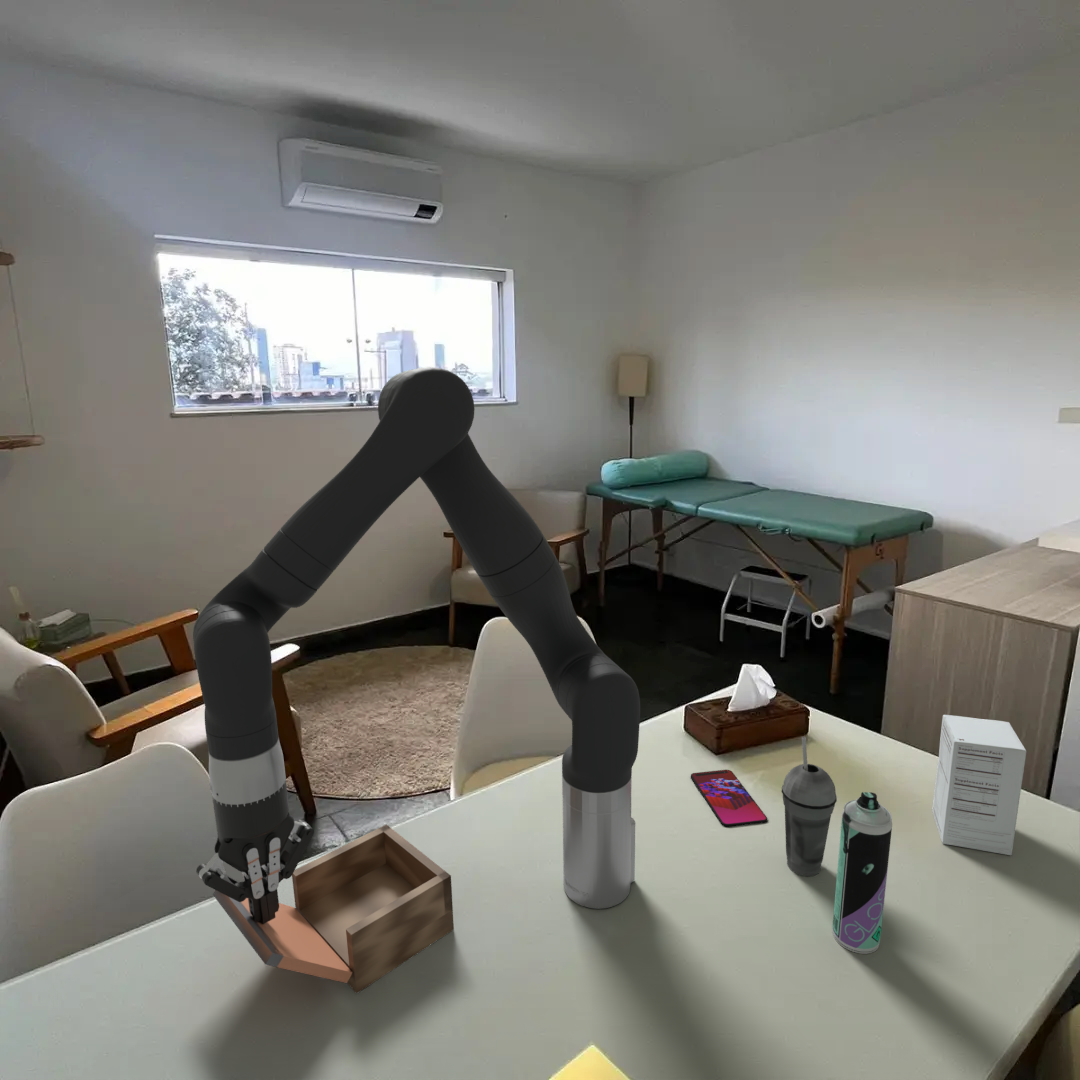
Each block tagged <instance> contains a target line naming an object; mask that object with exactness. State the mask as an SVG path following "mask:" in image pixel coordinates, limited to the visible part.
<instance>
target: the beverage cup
mask: <svg viewBox="0 0 1080 1080" xmlns="http://www.w3.org/2000/svg"><path fill="white" fill-rule="evenodd" d="M801 747H802V762H803V764H798V765H796V766H795V767H793V768H791V769H790V770H789V772H787V774H786V776H785V777H784V780H783V784H782V787H781V790H780V791H781V794H782V800H783V801H782V802H783V805H784V824H785V831H784V832H785V854H786V860H787V861H786V865H787V867H788V868H789V870H790V871H792V872H793V873H794V874H797V875H799V876H804V877H813V876H817V875H818V874H819V873H820V871H821V867H822V863H823V860H824V854H825V849H826V844H827V838H828V833H829V829H830V827H829V826H830V822H831V817H832V814H833V813H834V809H835V806H836V803H837V802H838V801H837V798H838V796H837V793H836V786H835V783H834V781H833V779H832V777H831V776H830V775H829V773H828V771H826V770H824V769H823V767H820V766H818V765H815V764H813V763H812V764H811V763H808V752H807V750H808V749H807V739H806V736H801Z"/></svg>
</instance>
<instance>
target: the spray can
mask: <svg viewBox="0 0 1080 1080" xmlns="http://www.w3.org/2000/svg"><path fill="white" fill-rule="evenodd" d="M877 799H878V795H877V794H876V793H875V792H869V791H868V792H867V791H862V792H861V794H860V797H858V798H856V799H853V800H848V802H845V804H844V806H843V810H842V813H841V814H842V815H841V823H840V824H841V826H840V837H839V848H838V860H837V869H836V871H837V872H836V883H835V893H834V894H835V896H834V905H833V918H832V932H831V933H832V936H833V938H834V940H835V941H836V942H837V943H838V945H840V946H841V947H843V948H844V949H846V950H848V951H850V952H853V953H856V954H864V955H866V954H867V955H868V954H872V953H874V952H876V951H877V950H878V949H879V947H880V942H881V935H882V926H883V915H884V908H885V907H884V906H885V897H886V887H887V879H888V868H889V859H890V850H891V840H892V839H891V838H892V830H893V821H892V820H893V816H892V814H891V812H890V810H888V809H887V808H886V807H885V806H883V805H882V804H881V803H880V802H879V800H877Z"/></svg>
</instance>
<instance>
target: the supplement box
mask: <svg viewBox="0 0 1080 1080" xmlns="http://www.w3.org/2000/svg"><path fill="white" fill-rule="evenodd" d="M940 729H941V730H940V740H939V751H938V761H937V767H936V775H935V776H936V777H935V784H934V792H933V802H932V809H931V810H932V816H933V817H934V818H933V819H934V822H935V825H936V827H937V831H938V834H939V837H940V840H941V843H942V844H943V845H948V846H949V845H950V846H956V847H960V848H961V847H962V848H966V849H972V850H976V851H977V850H978V851H983V852H989V853H995V854H1002V855H1006V856H1007V855H1008V856H1012V855H1013V848H1014V841H1015V835H1016V834H1015V833H1016V827H1017V819H1018V814H1019V808H1020V807H1019V805H1020V798H1021V792H1022V785H1023V784H1022V783H1023V778H1024V770H1025V764H1026V757H1027V750H1026V748H1025V746H1024V744H1023V743H1022V742H1021V740H1020V739H1019V736H1018V735H1017V733H1016V731H1015V730H1014V728H1013V726H1012V725H1011V723H1010V722H1009V721H1003V720H995V719H987V718H985V719H983V718H975V717H969V716H961V715H951V714H943V715H942V720H941V728H940Z"/></svg>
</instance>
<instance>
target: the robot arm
mask: <svg viewBox="0 0 1080 1080" xmlns="http://www.w3.org/2000/svg"><path fill="white" fill-rule="evenodd" d="M475 410H476V409H475V401H474V397H473V394H472V391H471V390H470V387H469V386H468V385H467V383H466V382H465V381H464V380H463V379H462V378H461V377H460V376H459V375H457V374H456V373H455V372H452V371H449V370H448V369H444V368H440V367H432V366H425V367H417V368H414V369H409V370H404V371H401V372H399V373H397V374H395V375H394V376H392V377H391V378H389V380H388V381H386V383H385V384H384V385H383V388H382V390H381V391H380V392H379V397H378V401H377V413H378V420H379V422H378V424H377V426H376V428H375V429H374V430H373V432H372V433H371V435H370V436H369V437H368V439H367V440H366V441H365V443H364V444H363V445H362V446H361V448H360V449H359V451H358V452H357V453H356V454H355V455H354V456H353V458H351V459H350V460H349V461H348V463H346V465H345V466H344V467H343V468H342V469H341V470H340V471H338V472H337V474H336V475H334V477H332V478H331V479H330V480H329V481H328V482H327V483H325V484H324V485H323V486H322V487H321V488H320V489H319V490H318V491H317V492H316V493H315V494H313V495H312V496H311V497H310V498H308V500H306V501H305V502H304V503H303V504H302V505H301V506H300V507H299V508H298V509H297V510H296V511H295V512H294V513H293V514H292V515H291V516H290V518H289V519H287V520H286V522H285V523H284V524H283V525H282V526H281V527H280V529H278V531H277V532H276V533H275V535H273V536H272V537H271V539H270V540H269V541H268V542H267V543H266V544H265V546H264V547H263V549H262V550H260V552H259V553H258V554H257V555H256V557H255V559H254V560H253V561H252V562H251V564H249V566H247V567H246V568H245V569H244V570H243V571H241V572H240V573H239V574H238V575H236V576H235V577H234V578H233V579H232V580H231V581H229V582H228V583H227V584H226V585H225V586H224V587H223V588H222V589H221V590H219V592H217V594H216V595H215V596H214V597H212V599H210V601H209V602H207V605H206V606H205V607H204V608H203V609H202V610H201V612H200V613H199V615H198V617H197V619H196V620H195V623H194V626H193V629H192V630H193V632H192V637H193V638H192V639H193V640H192V641H193V651H194V659H195V660H194V661H195V665H196V671H197V677H198V681H199V686H200V691H201V696H202V699H203V705H204V726H205V727H204V728H205V734H206V743H207V748H208V776H209V782H208V783H209V784H208V786H209V790H210V792H211V798H212V805H213V812H214V813H213V814H214V819H215V827H216V833H217V839H216V842H215V844H214V847H213V848H214V854H213V856H212V857H211V858H210V860H208V862H207V863H201V864H199V865H198V866H197V867H196V870H195V871H196V874H197V875H198V877H199V878H200V879H201V881H202V882H203V883H204V885H205V886H207V887H209V888H210V889H213V890H214V891H215V890H217V891H219V892H220V893H222V894H224V895H226V896H228V897H230V898H232V899H234V900H236V901H238V902H242V901H244V900H245V899H246V898H248V902H249V908H250V913H251V915H252V916H253V917H254V919H255V920H256V921H257V922H259V921H260V922H261V923H262V924H265V923H267V922H269V921H270V920H272V919H274V918H275V912H277V911H278V909H279V903H280V901H279V895H278V887H279V884H280V883H281V882H282V881H283V880H284V879H285V880H287V879H290V878H292V874H293V872H294V870H296V868H297V866H298V864H299V863H300V862H301V861H300V860H301V859H302V857H303V855H304V853H305V851H306V850H307V848H308V845H309V844H310V842H311V839H312V838H313V835H314V833H315V830H314V829H313V827H311V825H310V824H309V823H307V821H305V820H304V819H298V820H295V819H294V817H293V816H292V814H290V805H289V795H288V786H287V785H288V784H287V777H286V768H285V761H284V754H283V750H282V746H281V743H280V737H279V731H278V721H277V720H278V719H277V711H276V707H275V702H274V697H273V666H272V665H273V662H272V652H271V650H272V648H271V642H270V637H269V634H268V633H269V632H270V631H271V629H272V628H273V627H274V626H275V624H277V623H278V621H279V620H280V619H281V618H282V617H283V616H284V615H285V614H286V613H288V611H289V610H290V609H293V608H294V609H295V608H296V609H297V608H300V607H302V606H304V605H305V604H306V603H307V602H308V601H309V600H310V599H311V598H313V596H315V594H316V593H317V592H318V591H319V589H320V588H321V587H322V586H323V584H325V582H326V581H327V579H329V577H330V576H331V575H332V574H333V572H334V571H335V570H336V569H337V568H338V567H339V566H340V564H341V563H342V562H343V561H344V559H346V557H347V556H348V555H349V554H350V552H351V551H352V550H353V549H354V548H355V546H357V544H358V543H359V542H360V540H362V538H363V537H364V536H365V534H366V533H367V532H368V531H369V530H370V529H371V527H372V526H373V525H374V524H375V523H376V521H377V520H378V519H380V517H381V516H382V515H383V514H384V513H385V512H386V511H387V510H388V509H389V508H390V506H391V505H392V504H393V503H394V502H395V501H396V500H397V499H399V497H400V496H401V495H402V494H404V493H405V491H406V490H408V488H409V487H411V486H412V485H413V484H414V483H415V482H416V481H417V480H419V478H420V479H421V481H422V482H423V483H424V484H425V486H426V487H427V489H428V490H429V491H430V493H431V494H432V496H433V498H434V499H435V501H436V503H437V505H438V506H439V508H440V510H441V512H442V513H443V516H444V517H445V520H446V522H447V523H448V525H449V527H450V529H451V531H452V533H453V534H454V536H455V538H456V540H457V541H458V543H459V545H460V547H461V549H462V551H463V552H464V554H465V556H466V557H467V559H468V561H469V563H470V565H471V567H472V568H473V570H474V572H475V573H476V574H477V576H478V578H479V579H480V580H481V582H482V584H483V585H484V587H485V589H486V590H487V591H488V594H489V595H490V596H491V598H492V599H493V600H494V602H495V603H496V605H497V606H498V608H499V609H500V610H501V612H502V613H503V614H504V616H505V618H507V619H508V621H509V623H510V624H512V626H513V627H514V628H515V629H516V631H518V633H519V634H520V635H521V636H522V637H523V638H524V640H525V641H526V642H527V644H528V646H529V647H530V648H531V650H532V652H533V654H534V655H535V658H536V660H537V662H538V663H539V666H540V667H541V670H542V672H543V674H544V675H545V679H547V682H548V685H549V687H550V688H551V689H550V690H551V691H552V693H553V695H554V698H555V700H556V702H557V704H558V705H559V707H560V708H561V710H563V712H564V713H565V714H566V716H568V718H569V719H570V721H571V728H572V729H571V745H570V746H568V747H567V748H566V750H564V752H563V755H562V757H561V758H562V759H561V782H562V783H561V785H562V789H561V790H562V793H561V794H562V853H563V854H562V855H563V856H562V861H563V862H562V863H563V866H562V867H563V871H562V873H563V890H564V892H565V894H566V895H567V897H568V898H569V899H570V900H572V901H573V902H575V904H578V905H580V906H582V907H585V908H590V909H599V910H601V909H607V908H608V909H609V908H612V907H615V906H617V905H619V904H621V903H622V902H624V901H625V900H626V899H627V897H628V896H629V893H630V892H631V884H632V883H633V882H635V879H636V878H635V877H636V875H635V874H636V872H635V871H636V870H635V869H636V820H635V819H634V818H633V817H632V779H633V778H632V773H633V769H632V768H633V766H634V764H635V762H636V761H637V760H636V759H637V757H638V756H637V755H638V753H639V741H640V740H639V739H640V724H641V723H640V721H641V698H640V694H639V693H640V692H639V689H638V686H637V684H636V682H635V681H634V679H633V678H632V676H630V675H629V674H628V673H627V672H625V670H623V669H622V668H621V667H620V666H619V665H618V664H617V663H615V662H614V661H613V660H612V659H611V658H610V657H609V656H608V655H606V654H605V652H604V651H603V650H602V649H601V648H600V647H599V646H598V643H596V642H595V641H594V639H593V638H592V636H591V635H590V633H589V632H588V631H587V629H586V628H585V627H584V625H583V623H582V622H581V619H579V617H578V615H577V613H576V610H575V607H574V605H573V602H572V599H571V595H570V590H569V587H568V583H567V579H566V577H565V574H564V571H563V569H562V566H561V565H560V562H559V560H558V558H557V556H556V555H555V553H554V551H553V549H552V548H551V545H550V544H549V543H548V541H547V539H546V537H545V535H544V534H543V532H542V530H541V529H540V527H539V526H538V524H537V523H536V522H535V519H533V517H532V515H530V513H529V512H528V511H527V509H526V508H525V507H524V506H523V505H522V504H521V503H520V502H519V501H518V499H517V498H516V497H515V496H514V495H513V494H512V492H511V491H509V490H508V488H506V487H505V485H504V484H502V482H501V481H500V480H499V479H498V478H497V477H496V476H495V475H494V473H493V472H492V471H491V469H490V468H489V467H488V466H487V464H486V462H485V461H484V460H483V458H482V456H481V455H480V453H479V451H478V450H477V449H476V445H475V444H474V442H473V440H472V438H471V436H470V435H469V431H470V430H471V428H472V425H473V421H474V418H475ZM224 863H226V864H227V865H229V866H230V867H232V868H234V869H235V870H237V871H239V872H240V873H241V874H242V878H243V881H239V880H237V879H235V878H233V877H231V876H230V875H227V874H226V873H227V872H226V869H225V867H224Z"/></svg>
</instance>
